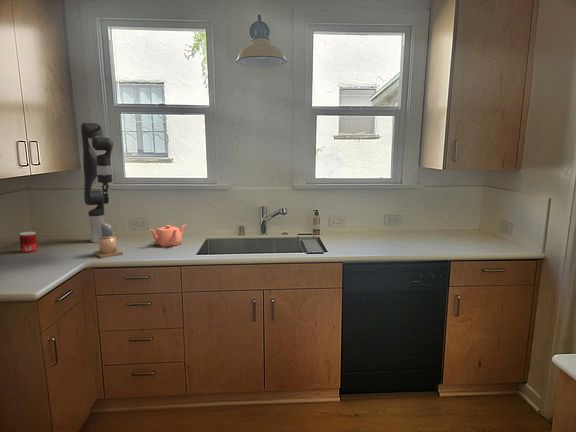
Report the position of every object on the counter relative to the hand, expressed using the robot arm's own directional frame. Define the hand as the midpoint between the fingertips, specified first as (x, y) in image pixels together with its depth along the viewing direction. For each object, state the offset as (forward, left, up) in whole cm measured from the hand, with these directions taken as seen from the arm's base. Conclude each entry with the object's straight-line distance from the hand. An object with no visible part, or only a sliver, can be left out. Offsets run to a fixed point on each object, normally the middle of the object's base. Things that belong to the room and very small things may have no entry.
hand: (106, 202), depth 213 cm
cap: (+1, -1, -19) cm, 19 cm away
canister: (+1, -1, -30) cm, 30 cm away
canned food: (-35, -33, -30) cm, 57 cm away
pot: (+3, +35, -30) cm, 47 cm away
